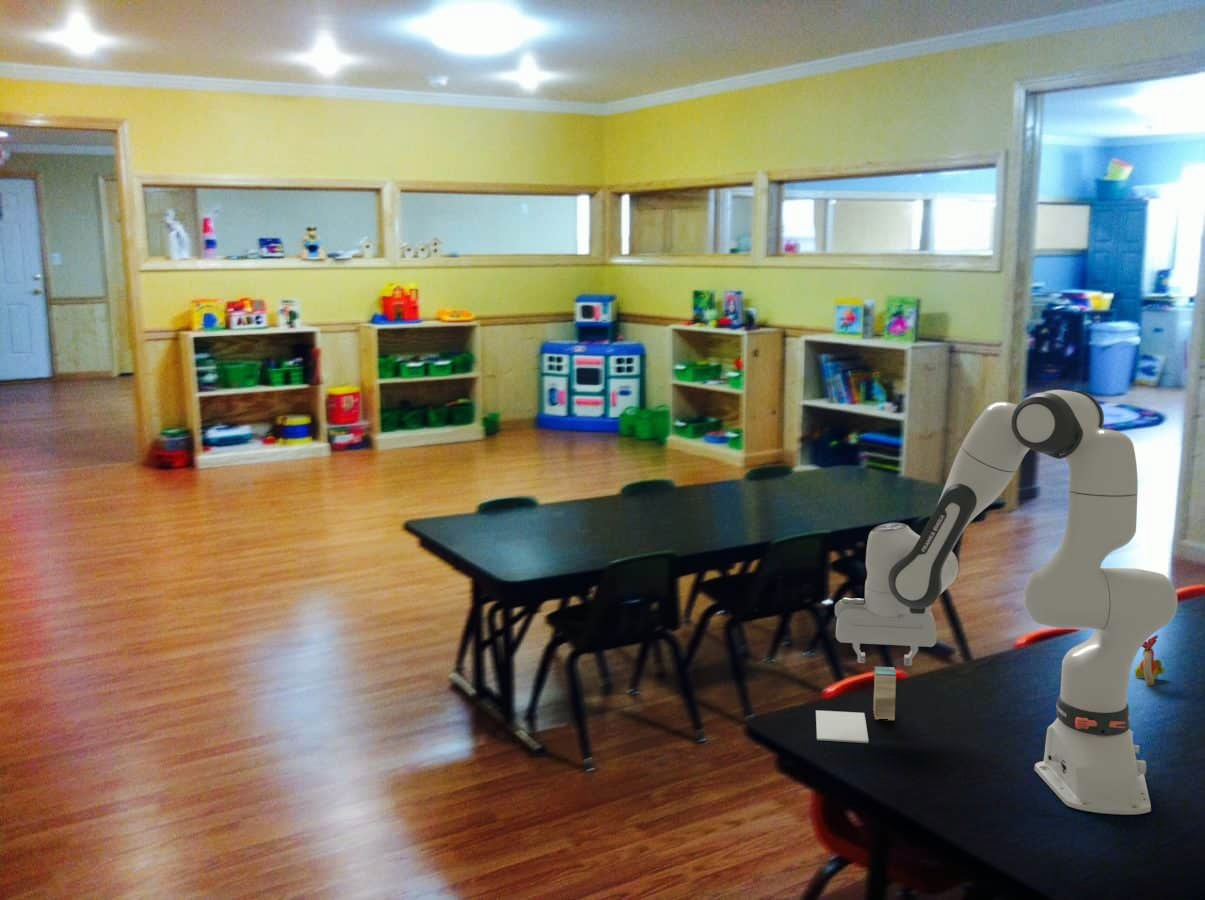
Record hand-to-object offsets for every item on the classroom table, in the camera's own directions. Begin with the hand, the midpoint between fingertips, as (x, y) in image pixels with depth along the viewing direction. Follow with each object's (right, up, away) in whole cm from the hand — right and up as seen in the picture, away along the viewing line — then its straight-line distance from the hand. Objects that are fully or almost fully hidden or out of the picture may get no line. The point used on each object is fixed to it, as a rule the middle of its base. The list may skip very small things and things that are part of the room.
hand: (884, 663), depth 227 cm
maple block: (0, -11, +1) cm, 11 cm away
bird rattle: (+64, -8, +17) cm, 67 cm away
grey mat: (-10, -12, -4) cm, 16 cm away
